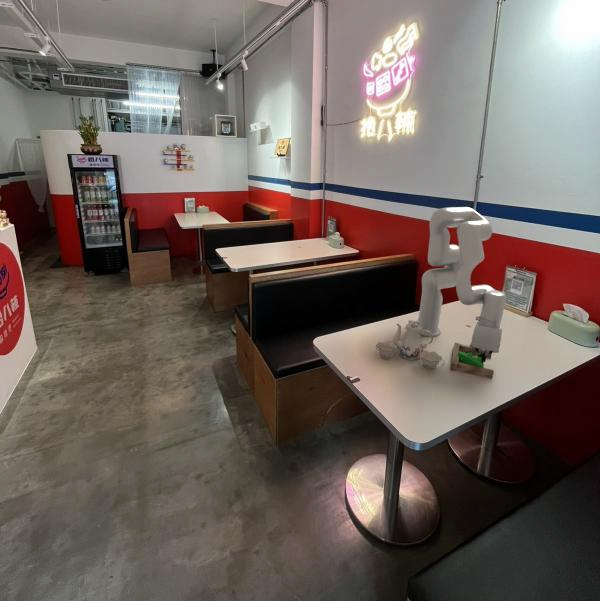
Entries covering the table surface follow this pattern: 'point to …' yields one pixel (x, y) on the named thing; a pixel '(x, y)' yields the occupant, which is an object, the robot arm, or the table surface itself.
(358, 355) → the table surface
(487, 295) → the robot arm
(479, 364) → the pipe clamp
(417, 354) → the chinaware
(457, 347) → the frame
